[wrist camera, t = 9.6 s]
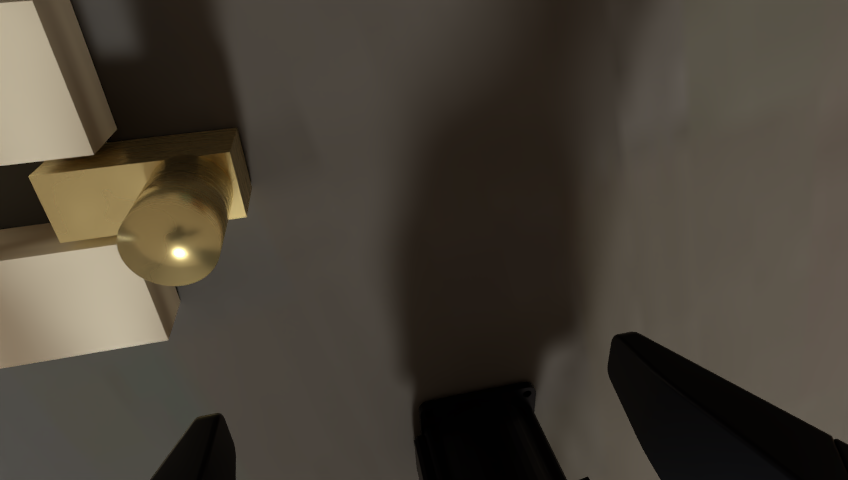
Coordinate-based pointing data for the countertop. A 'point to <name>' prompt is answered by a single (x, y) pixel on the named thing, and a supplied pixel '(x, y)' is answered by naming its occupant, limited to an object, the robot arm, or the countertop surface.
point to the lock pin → (152, 200)
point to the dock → (38, 244)
